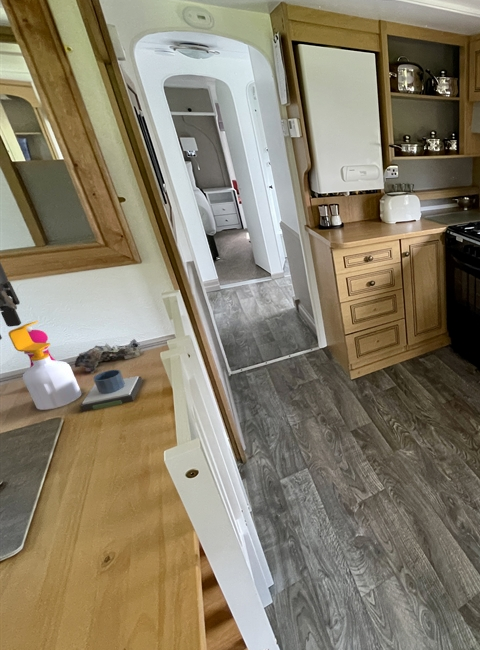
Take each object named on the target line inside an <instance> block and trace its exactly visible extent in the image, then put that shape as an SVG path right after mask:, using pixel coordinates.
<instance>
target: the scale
mask: <svg viewBox="0 0 480 650" xmlns="http://www.w3.org/2000/svg"><path fill="white" fill-rule="evenodd" d="M123 380H124V382H125V384H124V387H123V388H122V389H120V390H118V391H116V392H113V393H109V394H101V393H99V392H98V390H97V387H96V385H95V384H94V385H92V388H91V389H90V390H89V392H88V394H87V395H86V397H85V398H84V399H83V400H82V403H81V404H80V406H79V408H80V410H81V412H87V411H91V410H98V409H99V410H100V409H103V408H108V407H109V408H110V407H113V406H118V405H123V404H126V403H131V402H133V401H135V399H136V396H137V394H138V392H139V390H140V388H141V386H142V384H143V381H144V380H143V377H142V376H137V375H136V376H131V377H125V378H123Z"/></svg>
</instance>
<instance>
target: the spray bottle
mask: <svg viewBox="0 0 480 650" xmlns="http://www.w3.org/2000/svg"><path fill="white" fill-rule="evenodd" d="M37 323H39V320H36V321H31V322H28V323H26V324H23V325H21V326H17V327H16V328H14V329H12V330H10V331H8V337H9V339H10V341H11V343H12V345H13V347H14V349H15V350H16V351H18V352H22V353H24V352H28V351H29V352H30V353H33V354H34V356H32V357H31V360H32V362H33V364H34V365H33V366H32V367H30V366H29V368H28V369H26V371H25V372H24V373H23V374H22V381H23V383H24V385H25V387H26V389H27V391H28V393H29V396H30V397H31V399H32V401H33V403H34V405H35V407H36V409H37V410H40V411H42V410H43V411H44V410H46V411H47V410H52V409H57V408H60V407H64V406H66V405H68V404H71V403H72V402H74V401H76V400H78V399H79V398H80V397H81V396H82V391H81V388H80V386H79V383H78V381H77V379H76V377H75V374H74V372H73V369H72V367H71V365H70V364H69V363H68V362H66V361H62V360H56V361H53V360H51V359H50V356H49V354H48V353H43V350H44V348H45V347H47V346H49V347H50V346H51V343H50V342H46V343H34V342H33V341H32V340H31V338H30V336H29V333H28V331H27V328H26V327H28V326H30V327H31V326H33V325H35V324H37Z"/></svg>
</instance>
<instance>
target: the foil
mask: <svg viewBox="0 0 480 650" xmlns="http://www.w3.org/2000/svg"><path fill="white" fill-rule="evenodd" d="M140 345H141V344H140V342H138V341H137V340H136V339H135V338H133V339H132V340H131V341H130V343H129V344H128V345H125V346H124V345H119V344H118V345H117V344H114V345H113V346H110V345H109V344H108V343H107V342H106V343H105V345H95V346H94V347H93V348H90V349H89V350H87V351H83V352H81V353H79V354H78V355H77V357H76V358H75V361H74V368H84V369H85V372H90V374H94V373H96V368H97V366H98V365H99V362H101V361H103V362H104V361H105V362H108V361H109V360H112V359H115V358H117V357H118V355H120V354H123V356H124V360H128V359H134V358H137V357H140V356H141V347H140Z"/></svg>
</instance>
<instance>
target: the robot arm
mask: <svg viewBox="0 0 480 650" xmlns="http://www.w3.org/2000/svg"><path fill="white" fill-rule="evenodd" d="M18 305H20V300H19V297H18V296H17V294H16V291H15V289H14V287H13V285H12V283H11V281H9V279H8V276H7V273H6V272H5V270H4V267H3V265H2V263H1V262H0V315H1V316H2V319H3V321H4V323H5V325H6V327H20V325H22V321H21V319H20V317H19V314H18V312H17V309H18V307H17V306H18ZM2 338H3V336H2V335H1V334H0V341H2Z"/></svg>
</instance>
